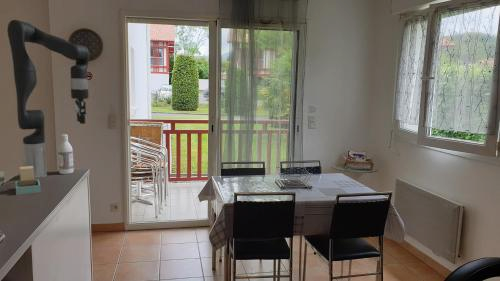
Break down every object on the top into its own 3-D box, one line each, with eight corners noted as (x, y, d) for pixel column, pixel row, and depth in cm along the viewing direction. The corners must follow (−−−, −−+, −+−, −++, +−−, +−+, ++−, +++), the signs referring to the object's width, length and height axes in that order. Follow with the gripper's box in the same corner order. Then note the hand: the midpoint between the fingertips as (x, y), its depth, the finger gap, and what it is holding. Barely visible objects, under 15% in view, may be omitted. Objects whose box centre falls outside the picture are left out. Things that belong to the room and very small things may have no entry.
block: (20, 189, 168) (19, 177, 167) (35, 187, 171) (34, 176, 170) (20, 192, 163) (19, 181, 162) (36, 190, 166) (35, 179, 165)
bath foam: (56, 173, 199) (53, 134, 196) (68, 170, 205) (66, 133, 201) (64, 174, 195) (62, 136, 192) (76, 172, 201) (74, 134, 198)
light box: (20, 178, 167) (19, 166, 166) (33, 176, 169) (33, 165, 169) (20, 180, 163) (19, 169, 162) (34, 179, 165) (33, 168, 164)
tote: (16, 189, 169) (15, 181, 169) (39, 186, 174) (38, 179, 173) (16, 196, 160) (15, 188, 159) (40, 193, 165) (40, 185, 164)
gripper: (68, 87, 184) (70, 121, 187) (72, 88, 172) (74, 124, 175) (85, 87, 188) (87, 120, 191) (90, 88, 176) (92, 123, 179)
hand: (81, 122), depth 183 cm, fingers open, 8 cm apart
